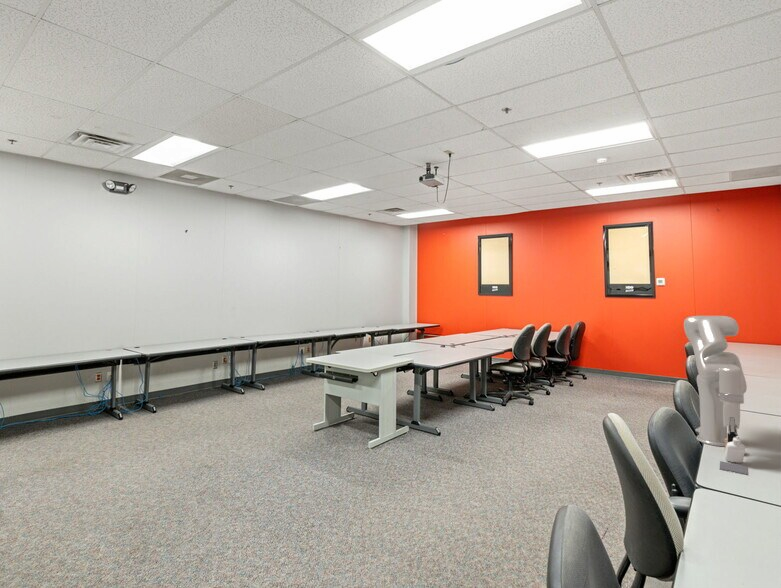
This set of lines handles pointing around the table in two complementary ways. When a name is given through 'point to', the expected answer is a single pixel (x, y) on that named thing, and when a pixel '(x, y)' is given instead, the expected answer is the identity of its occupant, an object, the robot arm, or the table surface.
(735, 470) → the mat
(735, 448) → the eye dropper bottle
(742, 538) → the table surface
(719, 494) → the table surface
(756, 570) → the table surface
